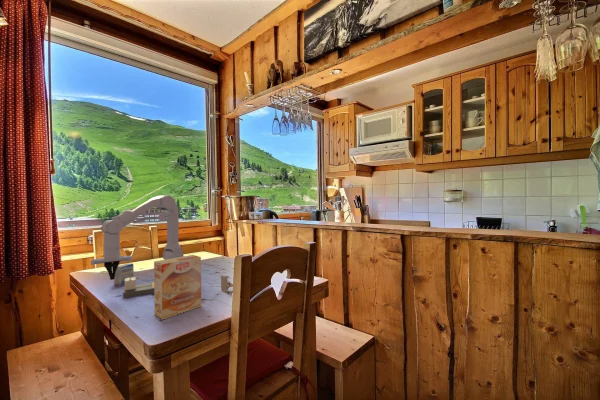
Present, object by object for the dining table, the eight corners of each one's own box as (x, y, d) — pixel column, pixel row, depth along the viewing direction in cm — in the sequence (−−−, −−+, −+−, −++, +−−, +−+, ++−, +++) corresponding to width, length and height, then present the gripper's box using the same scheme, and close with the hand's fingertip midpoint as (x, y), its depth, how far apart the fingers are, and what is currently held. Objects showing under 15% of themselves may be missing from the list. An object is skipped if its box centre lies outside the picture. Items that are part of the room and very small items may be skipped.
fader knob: (135, 285, 124) (135, 276, 124) (135, 288, 119) (135, 279, 119) (125, 287, 122) (125, 278, 122) (124, 290, 117) (124, 281, 117)
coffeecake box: (162, 320, 93) (161, 264, 93) (153, 314, 98) (152, 261, 98) (202, 306, 104) (201, 256, 104) (193, 302, 109) (192, 254, 109)
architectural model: (227, 289, 125) (227, 273, 125) (235, 293, 120) (235, 276, 120) (221, 291, 122) (220, 275, 122) (228, 295, 117) (228, 278, 117)
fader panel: (161, 285, 131) (161, 280, 131) (162, 291, 122) (162, 286, 122) (124, 290, 123) (124, 286, 123) (123, 297, 115) (123, 292, 115)
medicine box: (121, 284, 132) (120, 267, 132) (113, 284, 133) (113, 266, 133) (134, 280, 140) (133, 263, 140) (126, 279, 141) (126, 263, 141)
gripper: (89, 251, 110) (89, 284, 110) (131, 247, 117) (131, 278, 117) (92, 248, 116) (92, 279, 116) (131, 245, 123) (132, 274, 123)
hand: (112, 279), depth 117 cm, fingers closed
